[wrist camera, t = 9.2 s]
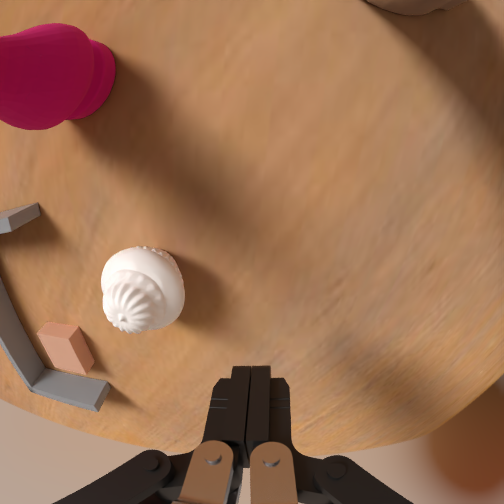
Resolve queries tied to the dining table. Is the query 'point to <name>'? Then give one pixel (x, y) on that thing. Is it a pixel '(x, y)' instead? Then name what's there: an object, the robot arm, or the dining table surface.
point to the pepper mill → (52, 76)
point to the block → (66, 347)
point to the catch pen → (23, 353)
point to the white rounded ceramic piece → (142, 289)
